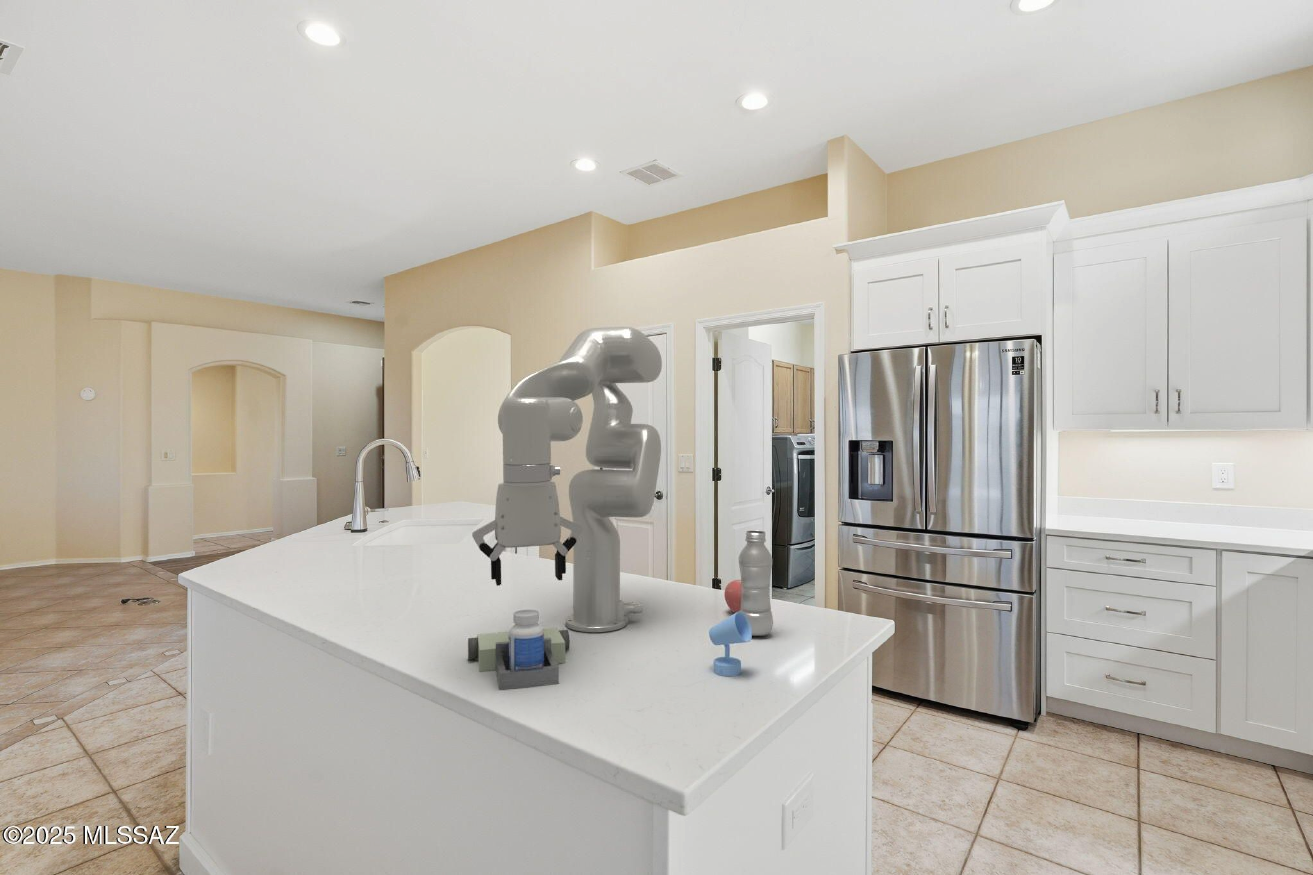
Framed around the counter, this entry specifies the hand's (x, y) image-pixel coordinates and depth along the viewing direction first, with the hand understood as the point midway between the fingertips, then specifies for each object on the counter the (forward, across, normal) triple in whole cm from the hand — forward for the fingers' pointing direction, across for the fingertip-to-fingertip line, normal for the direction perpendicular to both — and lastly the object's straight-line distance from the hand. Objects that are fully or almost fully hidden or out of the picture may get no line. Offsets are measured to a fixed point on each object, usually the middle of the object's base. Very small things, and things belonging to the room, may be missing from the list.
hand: (528, 580), depth 105 cm
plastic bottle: (+17, -44, -8) cm, 48 cm away
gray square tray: (+15, +1, +1) cm, 15 cm away
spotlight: (+16, -31, +9) cm, 36 cm away
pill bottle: (+15, +1, +1) cm, 15 cm away
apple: (+17, -48, -23) cm, 56 cm away
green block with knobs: (+15, +1, -8) cm, 17 cm away
